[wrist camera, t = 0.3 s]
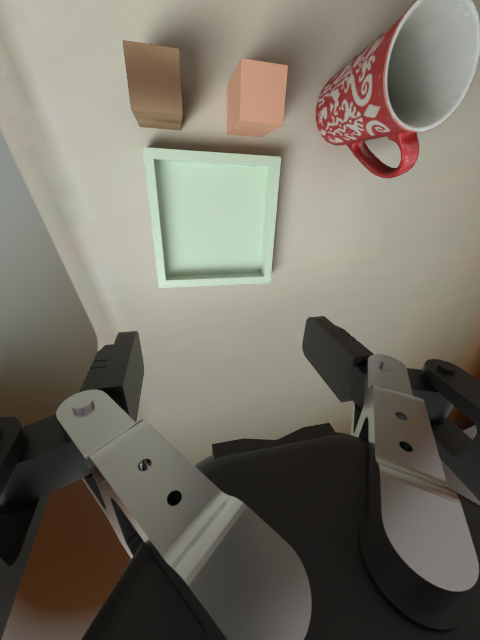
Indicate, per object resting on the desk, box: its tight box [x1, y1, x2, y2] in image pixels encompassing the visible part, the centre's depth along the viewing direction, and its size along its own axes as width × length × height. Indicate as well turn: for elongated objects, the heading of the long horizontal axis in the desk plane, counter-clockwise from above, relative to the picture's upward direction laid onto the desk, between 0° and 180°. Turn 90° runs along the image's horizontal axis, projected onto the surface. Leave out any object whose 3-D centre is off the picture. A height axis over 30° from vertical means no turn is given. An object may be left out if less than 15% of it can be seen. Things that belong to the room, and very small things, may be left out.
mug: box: [316, 0, 480, 178], centre depth 28 cm, size 13×9×14 cm
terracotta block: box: [227, 58, 288, 137], centre depth 28 cm, size 4×4×7 cm
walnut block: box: [123, 40, 183, 130], centre depth 25 cm, size 4×4×7 cm
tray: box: [143, 147, 281, 288], centre depth 34 cm, size 16×16×3 cm
